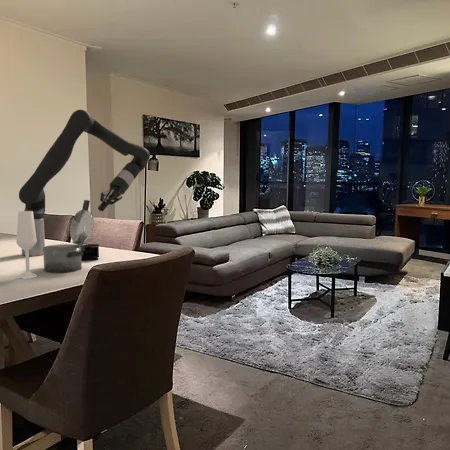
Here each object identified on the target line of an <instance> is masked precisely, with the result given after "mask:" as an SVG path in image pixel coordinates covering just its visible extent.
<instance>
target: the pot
mask: <svg viewBox="0 0 450 450" xmlns="http://www.w3.org/2000/svg"><path fill="white" fill-rule="evenodd" d="M85 245H86V244H83V245H78V244H73V243H72V244H70V243H65V244H64V243H63V244H53V245H45V247H44V248H43V251H44V254H43V271H44V272H46V273H50V274H64V273H65V274H66V273H73V272H77V271H81V270H82V268H83V266H82V264H83V263H82V262H83V261H82V257H81V255H83V251H85Z"/></svg>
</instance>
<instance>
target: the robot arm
mask: <svg viewBox="0 0 450 450" xmlns="http://www.w3.org/2000/svg"><path fill="white" fill-rule="evenodd" d="M83 133H87V134H89V135H91V136H94V137H95V138H98V139H99V140H100V141H102V142H103V143H105V144H106V146H107V145H108V147H109V148H111V149H113V150H114V151H115V152H118V153H119V154H121V155H122V156H126V157H127V156H128V155H131V156H132V159H131V161H130V162H127V163H126V164H125V165H124V166H123V168H122V169H121V170H120V171H119V172H118V173H117V174H116V176H115V177H114V178H113V179H112V180H111V181H110V183H109V188H108V189H107V190H106V192H101V193H100V196H99V197H100V199H99V200H100V202H101V203H100V204H99V205H98V207H97V209H98V211H99V212H104V211H105V209H107V207H108V206H110V205H111V206H112V205H114V204H116V203H117V202H120V200H122V199H123V195H124V194H126V192H127V191H128V189H129V188H130V187H131V185H132V184H133V182H134V180H135V179H136V178H137V176H138V175H139V174H140V173H141V172H142V171H143V170H145V168H146V167H147V165H148V163H149V160H150V157H151V154H150V151H149V150H148V149H147V148H146V147H144V146H142V145H139V144H137V143H134V142H131V141H129V140H128V139H126V138H124V137H123V136H121V135H120V134H118V133H116V132H115V131H113V130H111V129H109V128H107V127H105V125H103V124H101V123H100V122H99V121H98V120H97V119H96V118H94V117H93V115H92V114H90V112H88V111H86V110H84V109H77V110H75V111H73V112H72V114H71V115H70V117H69V119H68V120H67V123H66V124H65V127H63V130H62V131H61V133H60V134H59V136H57V138H56V140H55V141H54V142H53V144H52V146H51V147H50V148H49V149H48V150H47V152H46V154H45V155H44V157H43V158H42V160H40V161H41V162H40V163H39V164H38V166H37V167H36V169H35V171H34V172H33V173H32V175H31V176H30V177H29V178H28V180H27V181H26V182H25V183H24V184H23V185H22V186H21V188H20V190H19V191H18V198H19V200H20V202H21V203H22V204H25V206H24V210H23V211H33V216H34V223H35V231H36V238H37V242H36V244H35V246H34V247H33V248H32V249H30V250H29V257H31V256H34V257H36V256H42V255H43V256H44V251H43V248H44V247H46V243H45V240H46V239H45V212H46V193H45V190H44V188H45V187H46V185H47V184H48V183H49V182H50V180H52V179H53V178H54V177H55V176H57V174H59V172H61V171H62V169H64V167H65V166H66V164H67V163H68V161H69V160H70V158H71V155H72V154H73V153H72V152H73V150H74V147H75V144H76V142H77V141H78V139H79V137H80V136H81V135H82V134H83ZM21 255H22V256H25V250H23V249H22V248H21Z"/></svg>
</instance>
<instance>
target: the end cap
mask: <svg viewBox="0 0 450 450" xmlns="http://www.w3.org/2000/svg"><path fill="white" fill-rule="evenodd" d="M84 245H85V251H83V255H81V257H82V262H91V261H99V257H100V253H99V252H100V251H99V250H100V249H99V246H100V245H99V243H96V244H95V243H93V244H91V243H90V244H84Z"/></svg>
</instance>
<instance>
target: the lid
mask: <svg viewBox="0 0 450 450" xmlns="http://www.w3.org/2000/svg"><path fill="white" fill-rule="evenodd" d="M90 202H91V200H89V199H83V204H82V210H79V211H77V212H76V213H75V214H74V216H73V217H72V219H71V222H70V226H69V235H70V238H71V241H72V244H74V245H76V244H78V245H85V244H84V243H86V242H87V241H88V240H89V239H90V237H91V235H92V233H93V231H94V225H95V221H94V217H93V215H92V212H91V211H89V207H90Z"/></svg>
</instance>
